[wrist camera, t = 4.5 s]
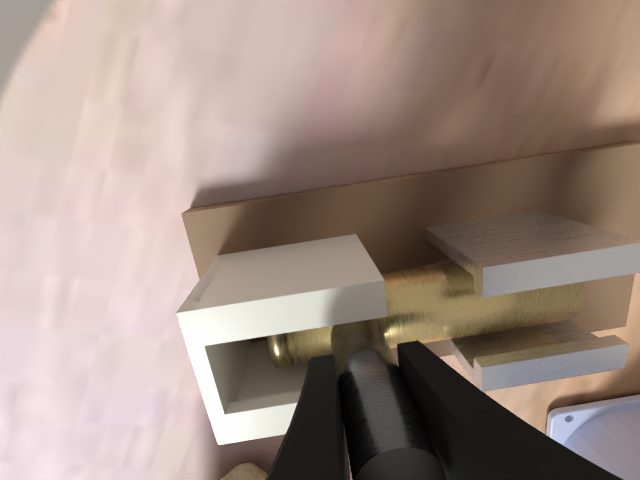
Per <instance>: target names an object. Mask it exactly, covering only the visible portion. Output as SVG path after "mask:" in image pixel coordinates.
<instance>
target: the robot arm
mask: <svg viewBox="0 0 640 480" xmlns="http://www.w3.org/2000/svg"><path fill="white" fill-rule="evenodd" d="M397 352H398V365H399V369H400V371H401V374H402V376H403V378H404V380H405V383H406V385H407V387H408V389H409V392H410V394H411V396H412V399H413V401H414V403H415V405H416V408H417V410H418V412H419V414H420V417H421V419H422V421H423V423H424V426H425V428H426V430H427V432H428V435H429V437H430V439H431V442H432V444H433V446H434V448H435V451H436V453H437V455H438V457H439V460H440V462H441V464H442V466H443V469H444V472H445V475H446V478H447V480H640V395H634V396H628V397H622V398H616V399H610V400H604V401H598V402H592V403H586V404H580V405H574V406H568V407H562V408H556V409H553V410H551V411H550V412H549V414H548V419H547V430H546V435H545V434H544V433H542V432H540V431H539V430H537V429H536V428H534V427H533V426H531V425H529V424H528V423H526V422H525V421H523V420H522V419H520V418H519V417H517V416H516V415H515V414H513V413H512V412H510V411H509V410H507V409H506V408H504V407H503V406H501V405H500V404H499V403H497V402H496V401H495V400H493V399H492V398H490V397H489V396H488V395H486V394H485V393H484V392H482V391H481V390H480V389H478V388H477V387H476V386H474V385H473V384H472V383H471V382H469V381H468V380H467V379H465V378H464V377H463V376H461V375H460V374H459V373H458V372H456V371H455V370H454V369H453V368H451V367H450V366H449V365H448V364H447V363H445V362H444V361H443V360H442V359H440V358H439V357H438V356H437V355H436V354H434V353H433V352H432V351H431V350H430V349H428V348H427V347H426V346H425V345H424V344H422V343H421V342H420V341H418V340H417V341H411V342H405V343H398V344H397ZM265 480H350V474H349V460H348V448H347V442H346V435H345V429H344V423H343V416H342V409H341V402H340V395H339V389H338V382H337V376H336V369H335V363H334V357H333V354H330V355H323V356H317V357H311V359H310V360H309V361H308V366H307V371H306V376H305V380H304V383H303V387H302V390H301V394H300V397H299V400H298V402H297V405H296V408H295V411H294V414H293V417H292V420H291V422H290V425H289V427H288V430H287V432H286V434H285V437H284V439H283V441H282V444H281V446H280V449H279V451H278V453H277V456H276V458H275V460H274V462H273V464H272V467H271V469H270V471H269V473H268V475H267V477H266V479H265Z"/></svg>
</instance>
